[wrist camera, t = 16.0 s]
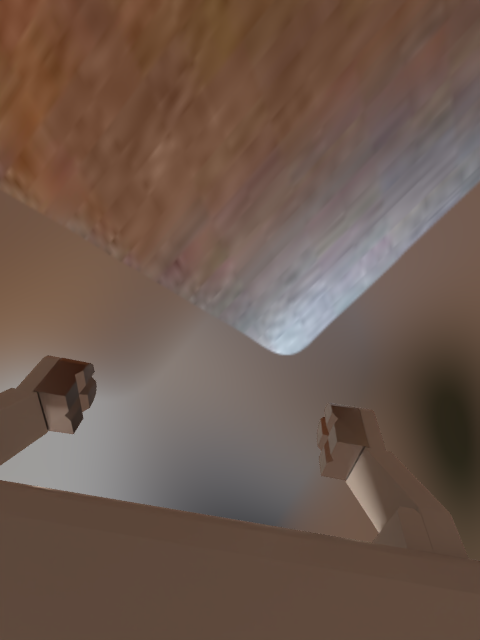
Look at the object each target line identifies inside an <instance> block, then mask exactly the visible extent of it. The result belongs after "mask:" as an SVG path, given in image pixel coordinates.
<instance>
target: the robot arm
mask: <svg viewBox="0 0 480 640" xmlns="http://www.w3.org/2000/svg"><path fill="white" fill-rule="evenodd" d="M94 372H95V371H94V367H93V364H91V363H86V362H81V361H76V360H71V359H66V358H59V357H53V356H46V357H44V358H43V359H42V360H41V361H40V362H39V363H38V364H37V366H36V367H35V368H34V369H33V370H32V371H31V373H30V374H29V375H28V376H27V377H26V378H25V379H24V380H23V381H22V382H21V384H20V385H19V386H18V387H17V388H16V389H15V388H10V389H8V390H6V391H4V392H2V393H0V465H2V464H3V463H4V462H6V461H7V460H9V459H10V458H12V457H13V456H14V455H16V454H17V453H19V452H20V451H22V450H23V449H24V448H26V447H27V446H29V445H30V444H32V443H33V442H34V441H36V440H37V439H39V438H40V437H42V436H43V435H45V434H46V433H47V432H48V431H54V432H62V433H69V434H74V433H75V431H76V429H77V428H78V426H79V424H80V423H81V421H82V420H83V414H82V412H83V411H85V410H87V409H88V408H90V406H91V404H92V402H93V400H94V398H95V394H96V387H97V386H96V381H95V380H94V379H93V378H92V375H93V373H94ZM324 412H325V417H323V418H321V419H320V422H319V425H318V430H317V445H318V447H319V448H320V450H321V451H322V452H321V454H320V456H319V463H320V471H321V476H326V477H330V478H336V479H341V480H346V482H347V484H348V486H349V487H350V489H351V490H352V492H353V493H354V495H355V497H356V498H357V500H358V501H359V503H360V504H361V506H362V507H363V509H364V510H365V512H366V514H367V515H368V517H369V518H370V519H371V521H372V523H373V524H374V526H375V527H376V529H377V530H378V532H379V534H378V535H377V537H376V538H375V539H374V540H373V542H372V543H371V542H365V541H359V540H353V539H347V538H341V537H336V536H330V535H324V534H318V533H311V532H306V531H300V530H293V529H287V528H282V527H276V526H270V525H264V524H258V523H252V522H246V521H240V520H234V519H228V518H222V517H216V516H210V515H204V514H198V513H192V512H186V511H181V510H174V509H169V508H162V507H157V506H151V505H145V504H139V503H133V502H127V501H121V500H115V499H109V498H103V497H97V496H91V495H86V494H80V493H74V492H68V491H61V490H56V489H50V488H44V487H38V486H32V485H26V484H20V483H14V482H7V481H2V480H0V640H480V561H479V560H473V559H469V558H468V555H467V553H466V551H465V548H464V546H463V543H462V541H461V538H460V536H459V534H458V531H457V528H456V526H455V524H454V521H453V519H452V516H451V514H450V513H449V512H448V511H447V510H446V509H445V508H444V507H443V506H442V504H441V503H439V501H438V500H437V499H436V498H435V497H434V496H433V495H432V494H431V493H430V492H429V491H428V490H427V489H426V488H425V487H424V486H423V485H422V484H421V483H420V481H419V480H418V479H416V477H415V476H414V475H413V474H412V473H411V472H410V471H409V470H408V469H407V468H406V467H405V466H404V465H403V464H402V463H401V462H400V461H399V460H398V459H397V458H396V456H395V455H394V454H393V453H392V452H390V451H386V448H385V445H384V441H383V438H382V435H381V432H380V428H379V426H378V422H377V419H376V416H375V413H374V411H373V410H371V409H364V408H359V407H352V406H345V405H339V404H333V403H328V404H327V405H326V407H325V410H324Z"/></svg>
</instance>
